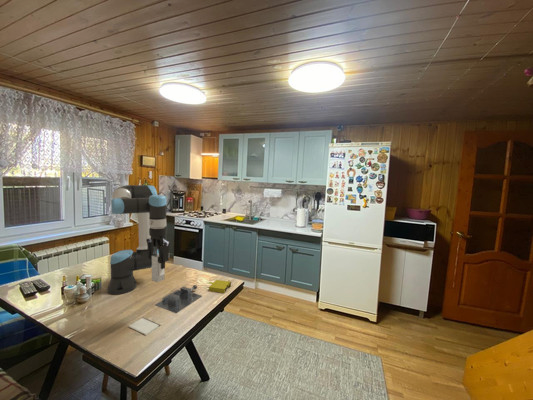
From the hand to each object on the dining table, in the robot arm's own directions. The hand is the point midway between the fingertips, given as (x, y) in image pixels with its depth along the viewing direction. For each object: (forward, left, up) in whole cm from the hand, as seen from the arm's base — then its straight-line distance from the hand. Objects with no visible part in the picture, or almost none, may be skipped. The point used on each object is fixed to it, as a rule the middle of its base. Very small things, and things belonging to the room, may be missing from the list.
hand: (158, 273), depth 112 cm
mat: (0, -3, -23) cm, 23 cm away
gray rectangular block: (0, +2, -3) cm, 3 cm away
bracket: (+7, +38, -24) cm, 45 cm away
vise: (-2, +17, -23) cm, 29 cm away
